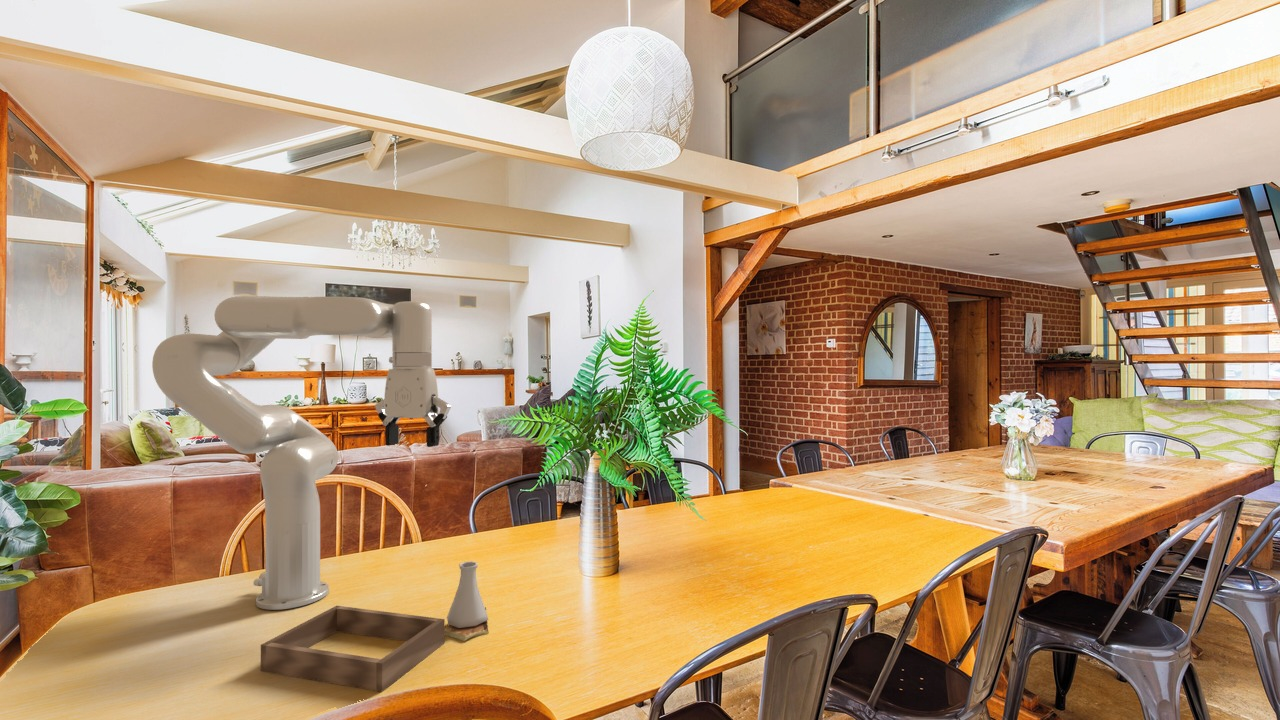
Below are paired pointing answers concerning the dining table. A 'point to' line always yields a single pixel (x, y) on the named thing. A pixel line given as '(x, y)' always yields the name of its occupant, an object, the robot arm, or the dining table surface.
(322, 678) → the brown wooden frame
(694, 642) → the dining table surface
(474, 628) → the shard
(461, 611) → the flask
